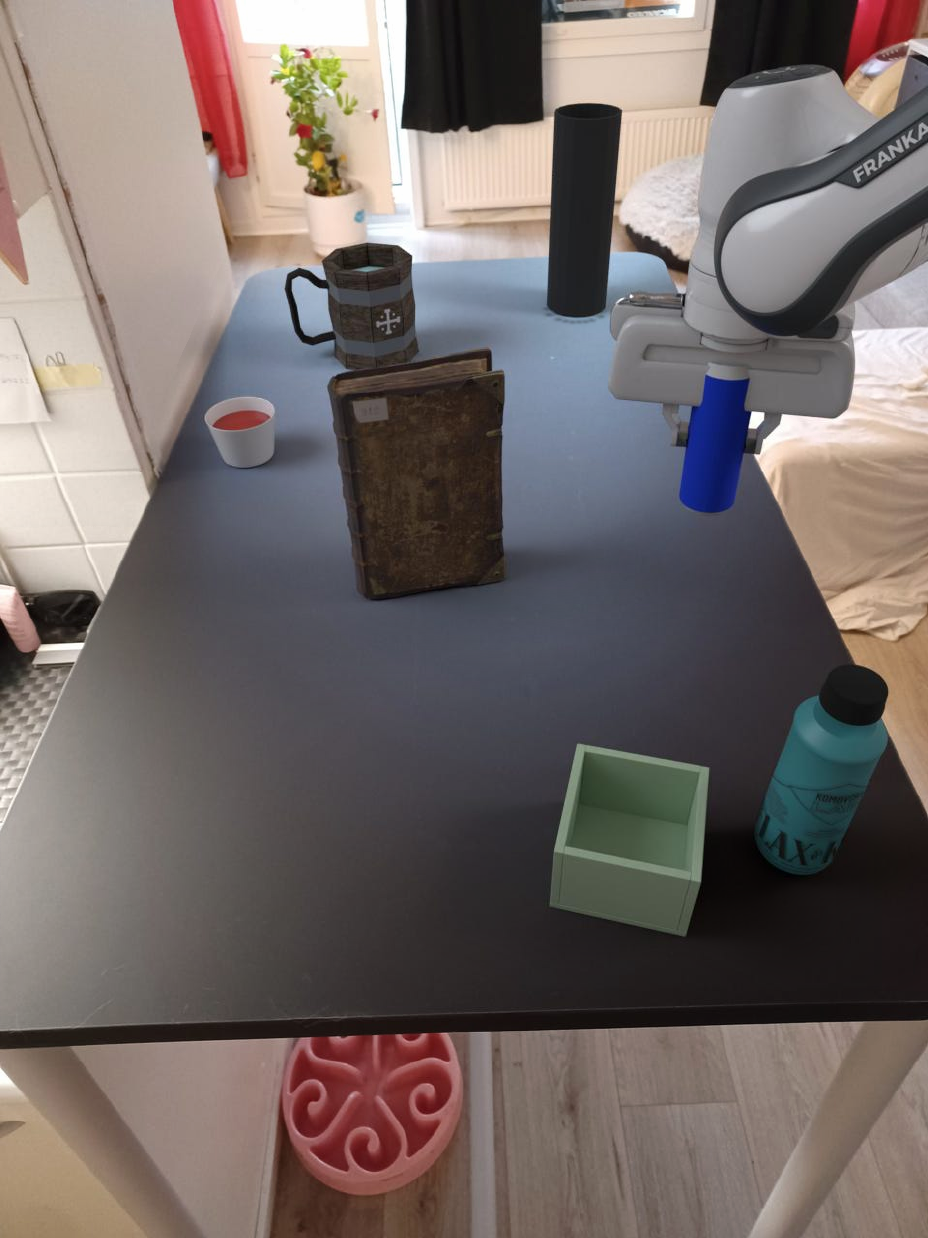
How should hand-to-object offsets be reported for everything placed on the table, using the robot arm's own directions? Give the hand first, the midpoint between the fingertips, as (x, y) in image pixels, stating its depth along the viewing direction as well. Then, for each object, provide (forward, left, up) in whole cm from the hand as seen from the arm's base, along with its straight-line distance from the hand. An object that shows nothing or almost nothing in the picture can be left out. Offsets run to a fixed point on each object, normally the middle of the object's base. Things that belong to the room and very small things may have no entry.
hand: (715, 447), depth 81 cm
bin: (+2, +32, -20) cm, 38 cm away
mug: (+55, -51, -20) cm, 78 cm away
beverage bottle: (-11, +28, -20) cm, 36 cm away
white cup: (+59, -19, -20) cm, 65 cm away
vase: (+24, -77, -20) cm, 83 cm away
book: (+28, 0, -20) cm, 35 cm away
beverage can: (0, 0, -6) cm, 6 cm away
